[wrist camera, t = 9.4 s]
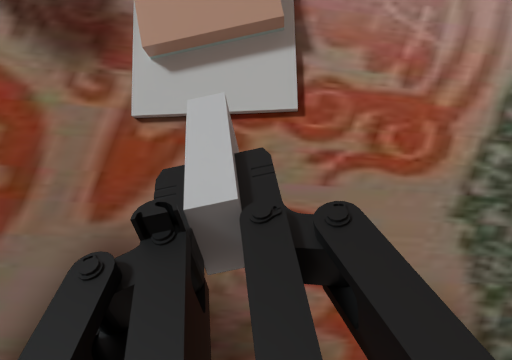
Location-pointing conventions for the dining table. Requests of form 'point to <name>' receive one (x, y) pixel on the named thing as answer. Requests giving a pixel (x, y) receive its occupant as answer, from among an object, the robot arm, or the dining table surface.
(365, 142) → the dining table surface
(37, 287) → the dining table surface
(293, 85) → the mat
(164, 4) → the tile
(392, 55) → the dining table surface
